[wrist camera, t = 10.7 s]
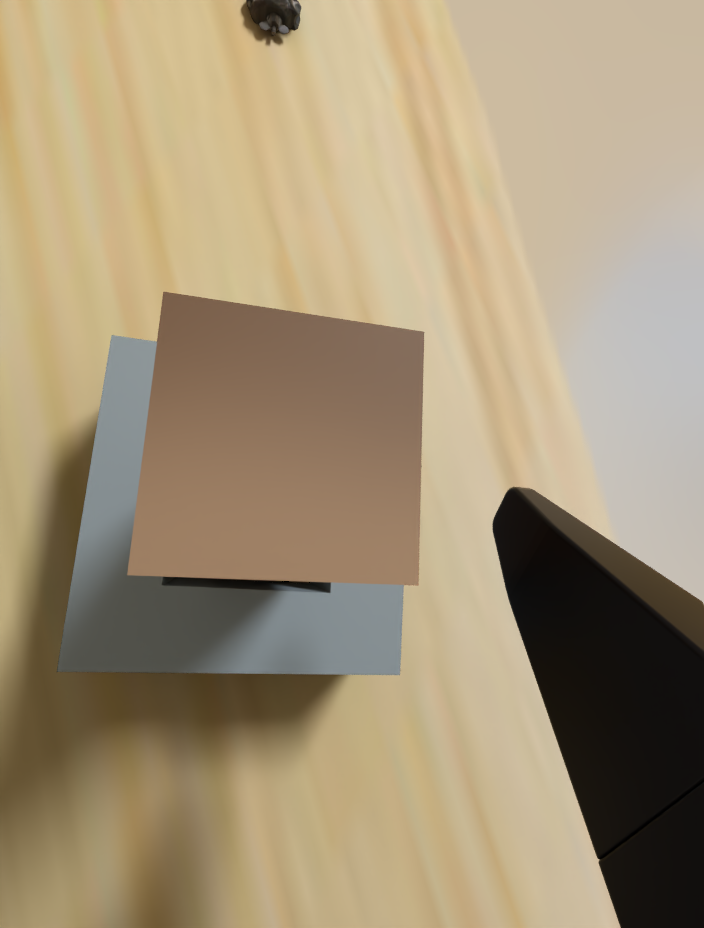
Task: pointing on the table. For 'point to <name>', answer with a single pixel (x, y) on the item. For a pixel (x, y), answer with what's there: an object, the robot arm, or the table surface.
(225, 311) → the tan rectangular block
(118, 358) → the holder
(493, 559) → the table surface
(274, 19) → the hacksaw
